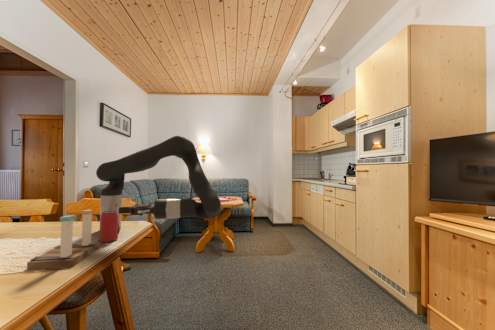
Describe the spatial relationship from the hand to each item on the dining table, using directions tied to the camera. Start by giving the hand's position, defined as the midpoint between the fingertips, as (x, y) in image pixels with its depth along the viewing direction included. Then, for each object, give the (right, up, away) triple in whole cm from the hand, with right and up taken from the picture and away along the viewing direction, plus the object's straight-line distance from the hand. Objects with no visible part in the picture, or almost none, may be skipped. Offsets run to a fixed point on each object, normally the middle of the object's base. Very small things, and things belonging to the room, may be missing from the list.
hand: (119, 210), depth 89 cm
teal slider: (-9, -11, -14) cm, 20 cm away
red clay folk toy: (-15, -15, +20) cm, 29 cm away
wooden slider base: (-13, -14, -9) cm, 21 cm away
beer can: (-11, -15, +12) cm, 22 cm away
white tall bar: (-11, -12, -2) cm, 16 cm away
